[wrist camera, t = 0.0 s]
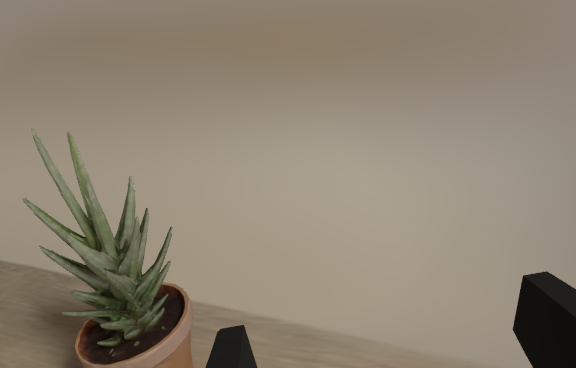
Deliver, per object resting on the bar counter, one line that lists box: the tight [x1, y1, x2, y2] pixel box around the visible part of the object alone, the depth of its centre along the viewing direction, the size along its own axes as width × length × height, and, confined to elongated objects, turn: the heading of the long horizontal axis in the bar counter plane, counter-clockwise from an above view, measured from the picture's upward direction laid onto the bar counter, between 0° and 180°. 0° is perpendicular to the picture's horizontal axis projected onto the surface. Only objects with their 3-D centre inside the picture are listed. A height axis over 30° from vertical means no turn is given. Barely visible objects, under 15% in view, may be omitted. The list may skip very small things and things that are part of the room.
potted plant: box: [22, 129, 193, 368], centre depth 32 cm, size 10×10×25 cm
